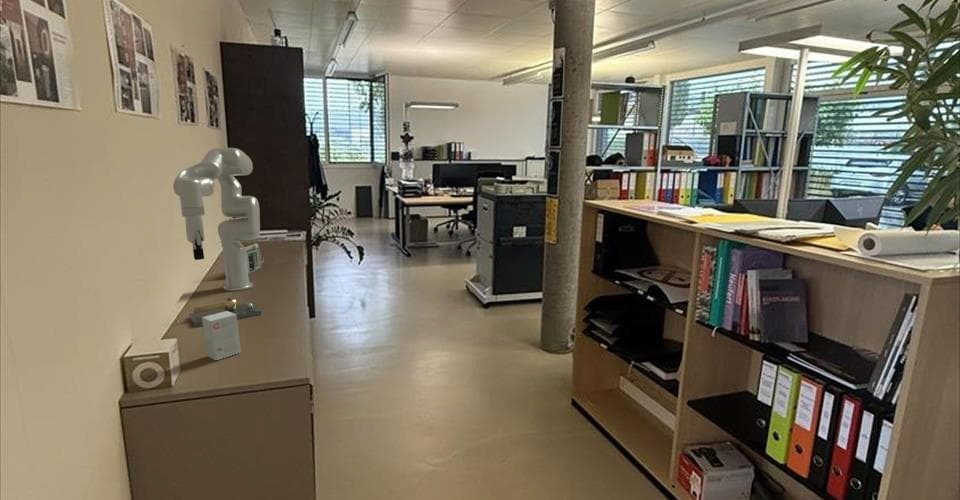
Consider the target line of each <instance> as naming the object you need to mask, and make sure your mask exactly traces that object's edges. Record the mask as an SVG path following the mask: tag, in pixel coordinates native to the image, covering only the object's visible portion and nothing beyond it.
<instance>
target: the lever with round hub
mask: <svg viewBox="0 0 960 500" xmlns="http://www.w3.org/2000/svg"><path fill="white" fill-rule="evenodd" d="M237 302H238V301H237V298H234V297H227V298H226V299H224V300H223V301H217V302H211V303H206V304H201V305H200V304H198V305H194V306H192V313H194V314H197V313H202V312H208V311H213V310H219V309H224V308H225V310H226V311H232V310H236V309H237V305H238V304H237Z"/></svg>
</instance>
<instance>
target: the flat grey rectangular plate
mask: <svg viewBox="0 0 960 500" xmlns="http://www.w3.org/2000/svg"><path fill="white" fill-rule="evenodd" d="M225 311H226V310H225V308H224V309H219V310H213V311H208V312H202V313H197V314H194V313H193V312H192V313H188V316H189V319H190V321H191V323H192V324H193V325H194V327H195V328H198V327H203V323H202V317H205V316H209V315H213V314H217V313H221V312H225ZM229 312H231V313H234V314H236V317H237V320H240V319H245V318H249V317H254V316H255V317H256V316H261V315H262V310H261V309H260V308H259V307H257V305H256V304H255V303H254V302H250V301H248V302H246V303H243V304H242V303H241V304H237V309H236V310H232V311H229Z"/></svg>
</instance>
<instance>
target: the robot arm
mask: <svg viewBox="0 0 960 500" xmlns="http://www.w3.org/2000/svg"><path fill="white" fill-rule="evenodd" d="M253 169H254V168H253V161H252V160H251V158H250V157H249V155H247V154H246V153H245V152H244V151H242V150H241V149H239V148H236V147H217V148H216V147H215V148H211V149H210V150H209V151H208V152H207V153H206V154H205V155H204V157H203V159H202V160H201V161H200V162H199V163H196V164H194V165H192V166H190V167H187V168H185V169H183V170H181V171H180V172H179V173H178V175H177V176H176V177H175V179H174V182H173V185H172V188H173V191H174V193H175V194H176V196H179V201H180V207H181V217H184V219H185V220H184V221H185V229H186V230H185V232H186V240H187V241H188V242H189V243H191V244H192V252H193V258H194V260H195V261H199V260H205V253H204V248H203V242H204V241H205V231H204V229H205V228H204V224H203V223H204V222H203V217H202V216H205V207H204V206H205V205H204V199H203V198H204V197H209V196H212V195H213V194H214V193H215V191H216V184H215V181H214V180H216V179H217V180H218V181H217V182H218V183H219V184H220V193H221V194H220V195H221V196H220V197H221V198H220V199H221V201H220V203H221V204H220V205H221V207H220V208H221V213H222V215H223V216H224V217H227V218H247V219H226V220H223V221H220V223H218V225H217V234H218V237H219V241H220V244H221V248H222V255H223V257H222V258H223V264H224V273H225V280H226V284H225V285H223V287H222V288H223V290H224V291H227V292H228V291H230V292H231V291H232V292H233V291H243V290H248V289H251V288H252V287H253V286H254V284H253V282H252V281H250V277H249V274H248V268H247V259H246V250H245V248H244V247H245V246H244V245H243V244H242V243H241V241H255V240H258V239H259V238H260V235H261V219H260V218H261V217H260V215H261V213H260V211H261V210H260V204H259V203H260V202H259V200H258V199H257V197H255V196H253V195H242V184H241V183H240V182H239V181H238V179H237V178H235V176H237V177H238V176H249V175H250V174H252V172H253Z"/></svg>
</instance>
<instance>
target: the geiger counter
mask: <svg viewBox="0 0 960 500" xmlns="http://www.w3.org/2000/svg"><path fill="white" fill-rule="evenodd" d="M244 248H245V250H246V259H247V268H248V273H249V274H251V273H250V272H252V273H254V272H256V271H255V270H257V269H259V268H262V264H263V263H264V261H265V259H264V257H263V256H262V254H261V250H260V247H259V244H258V243H253V244H250V245H248V246H244ZM262 269H263V268H262ZM253 271H254V272H253ZM257 271H258V270H257Z"/></svg>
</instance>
